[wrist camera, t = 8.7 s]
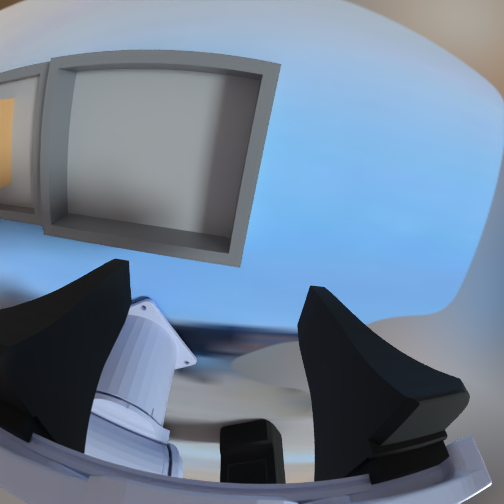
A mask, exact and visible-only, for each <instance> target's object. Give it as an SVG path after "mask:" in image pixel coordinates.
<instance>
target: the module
mask: <svg viewBox="0 0 504 504" xmlns="http://www.w3.org/2000/svg"><path fill="white" fill-rule="evenodd" d="M14 99H15V98H11V99H0V188H2V187H5V186H7V185H9V184H11V183H12V177H11V138H12V120H13V109H14Z"/></svg>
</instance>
